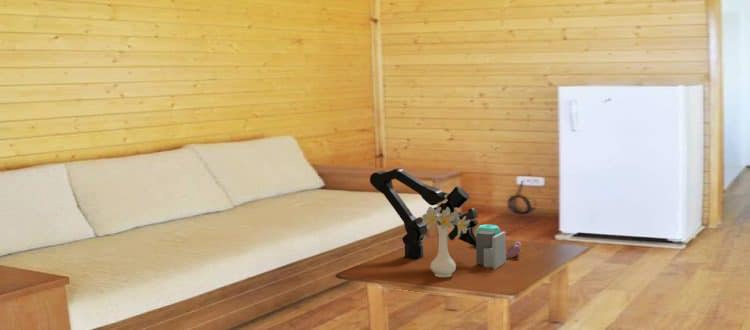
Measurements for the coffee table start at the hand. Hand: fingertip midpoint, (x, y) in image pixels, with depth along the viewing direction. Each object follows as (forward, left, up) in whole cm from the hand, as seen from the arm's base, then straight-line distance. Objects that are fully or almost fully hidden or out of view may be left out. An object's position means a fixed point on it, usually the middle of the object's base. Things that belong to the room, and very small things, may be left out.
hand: (477, 246), depth 330 cm
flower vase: (-5, -22, -7) cm, 24 cm away
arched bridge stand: (+6, 0, -7) cm, 9 cm away
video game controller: (+10, +17, -7) cm, 21 cm away
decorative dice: (-6, +34, -7) cm, 36 cm away
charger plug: (+3, 0, -7) cm, 7 cm away
